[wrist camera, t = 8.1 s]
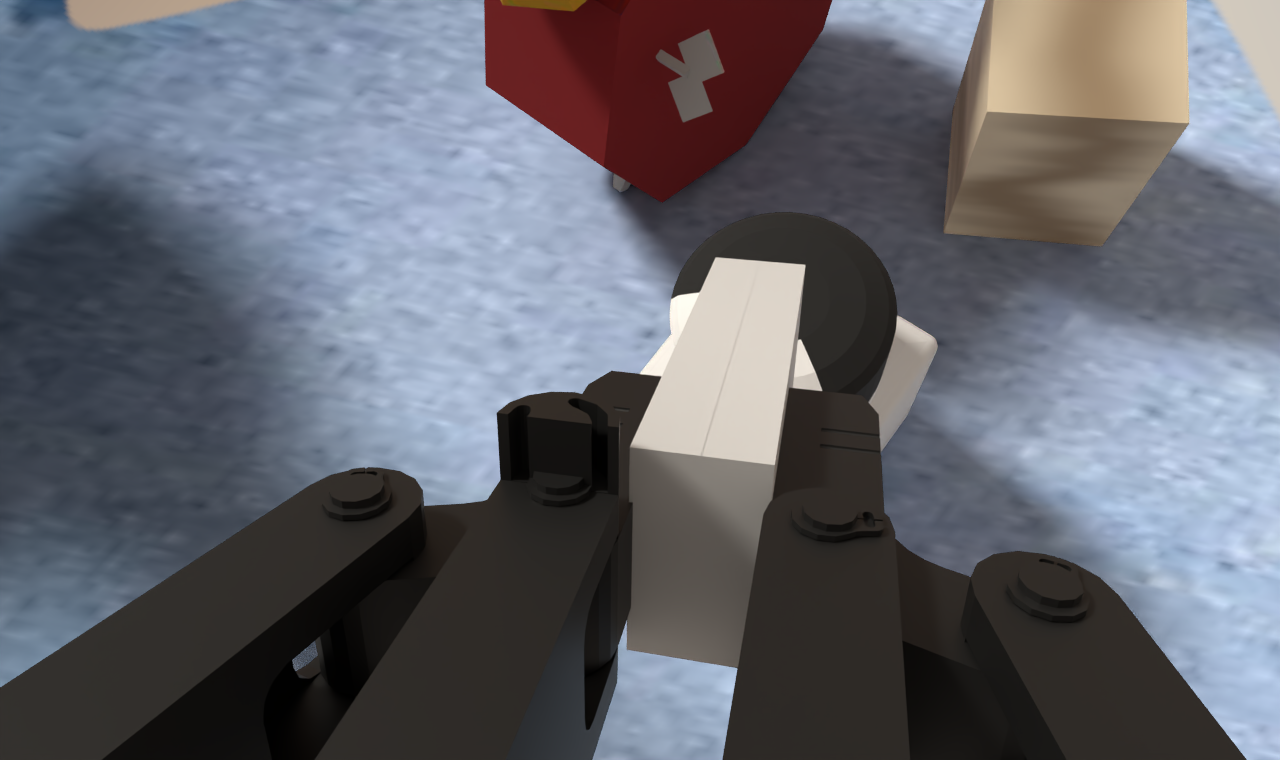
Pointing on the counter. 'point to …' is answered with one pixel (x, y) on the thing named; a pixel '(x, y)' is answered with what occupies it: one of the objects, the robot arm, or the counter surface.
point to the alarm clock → (649, 76)
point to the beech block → (1064, 116)
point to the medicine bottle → (823, 311)
